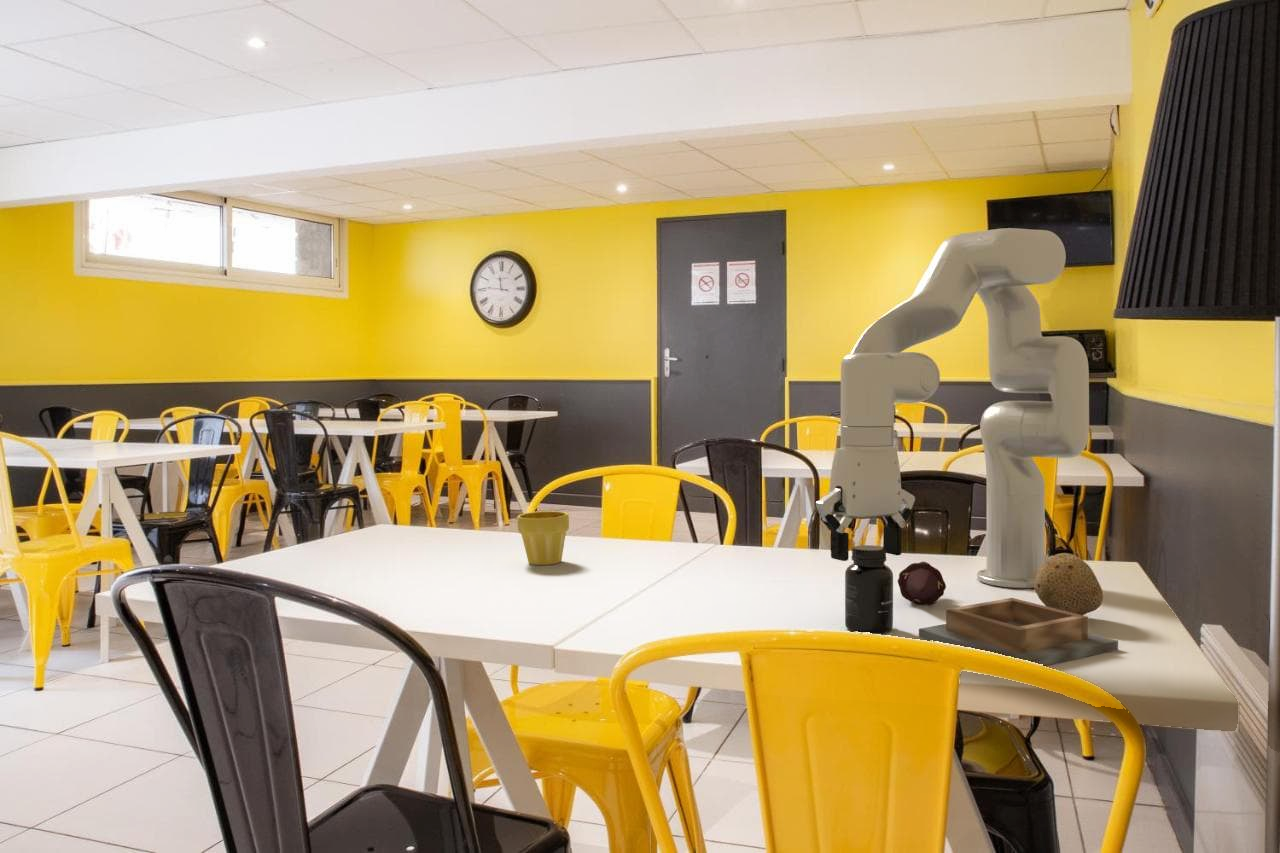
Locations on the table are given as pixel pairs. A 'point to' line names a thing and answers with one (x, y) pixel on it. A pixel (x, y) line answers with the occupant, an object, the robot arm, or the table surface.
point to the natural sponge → (1068, 585)
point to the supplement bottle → (869, 591)
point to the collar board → (1020, 631)
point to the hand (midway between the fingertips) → (866, 556)
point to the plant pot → (543, 535)
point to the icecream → (921, 583)
